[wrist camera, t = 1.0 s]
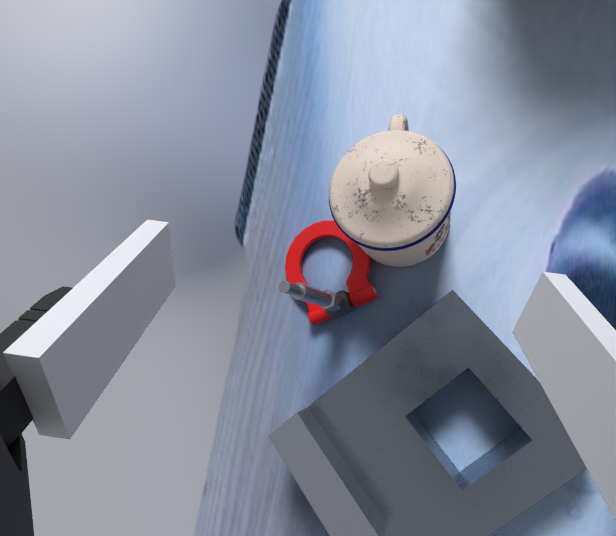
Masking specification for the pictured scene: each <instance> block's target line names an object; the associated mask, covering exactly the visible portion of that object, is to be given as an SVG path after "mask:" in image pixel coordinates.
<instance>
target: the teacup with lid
mask: <svg viewBox="0 0 616 536" xmlns="http://www.w3.org/2000/svg"><path fill="white" fill-rule="evenodd" d="M455 192H456V180H455V174H454V170H453V167H452V164H451V162H450V160H449V158H448V157H447V155H446V154H445V153H444V151H443V150H442V149H441V148H440V147H439V146H438V145H436V144H435V143H434V142H433V141H431V140H430V139H428V138H427V137H424V136H422V135H420V134H417V133H414V132H410V131H409V130H408V121H407V118H406V116H405V115H403V114H398V115H394V116H393V117H392V118H391V120H390V123H389V131H385V132H380V133H377V134H374V135H371V136H369V137H367V138H365V139H363V140H361V141H360V142H358V143H357V144H355V145H354V146H353V147H352V148H351V149H349V150H348V151H347V153H346V154H345V155H344V156H343V157H342V158H341V160H340V161H339V163H338V165H337V166H336V168H335V170H334V173H333V175H332V178H331V182H330V188H329V205H330V210H331V213H332V216H333V218H334V220H335V222H336V224H337V226H338V227H339V229H340V230H341V231H342V232H343V233H344V234H345V235H346V236H347V237H348V238H349V239H350V240H352V241H353V242H355V243H357V244H358V245H359V246H360V247H361V248H362V250H363V251H364V252H365V253H366V254H368V255H369V256H370V257H371V258H372V259H374V260H375V261H377V262H379V263H381V264H384V265H387V266H392V267H407V266H412V265H415V264H418V263H421V262H423V261H425V260H426V259H428V258H429V257H431V256H432V255H433V254H434V253H435V252H436V251H437V250H438V249H439V248H440V247H441V245H442V244H443V242H444V240H445V239H446V236H447V234H448V231H449V226H450V214H451V208H452V205H453V202H454V198H455Z"/></svg>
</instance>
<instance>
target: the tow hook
mask: <svg viewBox="0 0 616 536" xmlns="http://www.w3.org/2000/svg"><path fill="white" fill-rule="evenodd" d="M325 237H335V238H339V239H341V240H343V241H344V242H345V243H346V244H347V245H348V246H349V248H350V250H351V252H352V256H353V268H352V271H351V274H350V276H349V277H348V279H347V281H346V284H347V287H348V289H349V292H350V293H348V292H346V291H344V290H342V291H340V292H337V293H335V292H332V291H330V290H325V291H322V290H319V289H317V288H314V287H311V286H309V285H308V283H307V282H306V281H305V279H304V276H303V274H302V259H303V257H304V254H305V252H306V250H307V249H308V247H309V246H310V245H312V244H313V243H314V242H315V241H317V240H319V239H321V238H325ZM370 262H371V259H370V256H369V255H368V254H366V253H365V252H364V251H363V250H362V248H361V247H360V246H359V245H358V244H357V243H355V242H353V241H352V240H350V239H349V238H348V237H347V236H346V235H345V234H344V233H343V232H342V231H341V230H340V229H339V227H338V226H337V224H336V222H335V221H321V222H318V223H314V224H312V225H311V226H309V227H307V228H305V229H304V230H303V231H302V232H301V233H300V234H299V235H298V236H297V237H296V238H295V240H294V241H293V243H292V244H291V246H290V248H289V251H288V254H287V257H286V265H285V269H286V277H287V280H288V281H282V282H281V283H280V285H279V289H280V291H281V292H283V293H287V294H290V295H291V296H292V297H293V298H294V299H297V300H301V301H304V302H305V303H307V306H308V309H309V312H308V317H309V319H310V322H311V323H312V324H313V325H316V324H318V323H321V322H323V321H325V320H328V319H330V318H332V317H337V316H340V315H342V314H344V313H347V312H349V311H351V310H354V309H355V308H356V307H358V306H360V305H362V304H365V303H367V302H369V301H372V300H374V299H376V298H378V294H377V291H376V289H375V287H374V286H373V285H372V284H370V282H369V279H368V275H369V272H370Z"/></svg>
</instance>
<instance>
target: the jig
mask: <svg viewBox="0 0 616 536" xmlns="http://www.w3.org/2000/svg"><path fill="white" fill-rule="evenodd" d="M467 368H469V369H470V370H471V371H472V372H473V373H474V374H475V375H476V377H477V378H478V379H479V380H480V381H481V382H482V383H483V385H484V386H485V387H486V388H487V389H488V390H489V391H490V393H491V394H492V395H493V396H494V397H495V398H496V399H497V400H498V402H499V403H500V404H501V405H502V406H503V407H504V408H505V410H506V411H507V412H508V413H509V414H510V415H511V416H512V418H513V419H514V420H515V421H516V422H517V423H518V424H519V425H520V427H521V428H520V429H519V430H517V431H516V432H515V433H513V434H512V435H511V436H509V437H508V438H506V439H505V440H504V441H502V442H501V443H499V444H498V445H497V446H495V447H494V448H493V449H491V450H490V451H488V452H487V453H486V454H484V455H483V456H481V457H480V458H479V459H477V460H476V461H475V462H473V463H472V464H470V465H469V466H468V467H466V468H465V469H464V470H462V471H461V472H459V471H458V469H457V468H456V467H455V465H454V464H453V463H452V462H451V460H450V459H449V458H448V456H447V455H446V454H445V453H444V451H443V450H442V449H441V447H440V446H439V445H438V444H437V442H436V441H435V440H434V439H433V437H432V436H431V435H430V433H429V432H428V431H427V430H426V428H425V427H424V426H423V424H422V423H421V422H420V421H419V419H418V418H417V417H416V416H415V414H414V413H413V412H412V411H413V410H414V409H415V408H417V407H418V406H419V405H421V404H422V403H423V402H425V401H426V400H427V399H428V398H430V397H431V396H432V395H434V394H435V393H436V392H438V391H439V390H440V389H441V388H443V387H444V386H445V385H447V384H448V383H449V382H451V381H452V380H453V379H454V378H456V377H457V376H458V375H460V374H461V373H462V372H464V371H465V370H466V369H467ZM269 438H270V440H271V441H272V443H273V445H274V446H275V448H276V449H277V451H278V453H279V454H280V456H281V458H282V459H283V461H284V462H285V464H286V466H287V467H288V469H289V470H290V472H291V474H292V475H293V477H294V479H295V480H296V482H297V483H298V485H299V487H300V488H301V490H302V492H303V493H304V495H305V496H306V498H307V500H308V501H309V503H310V504H311V506H312V508H313V509H314V511H315V513H316V514H317V516H318V517H319V519H320V521H321V522H322V524H323V526H324V527H325V529H326V530H327V532H328V534H329V535H330V536H489V535H491V534H492V533H494V532H495V531H497V530H498V529H500V528H501V527H503V526H504V525H505V524H507V523H508V522H510V521H511V520H513V519H514V518H516V517H517V516H519V515H520V514H522V513H523V512H524V511H526V510H527V509H529V508H530V507H532V506H533V505H535V504H536V503H538V502H539V501H541V500H542V499H543V498H545V497H546V496H548V495H549V494H551V493H552V492H554V491H555V490H557V489H558V488H559V487H561V486H562V485H564V484H565V483H567V482H568V481H570V480H571V479H573V478H574V477H576V476H577V475H578V474H580V473H581V472H583V471H584V470H586V469H587V468H586V466H585V464H584V462H583V460H582V459H581V457H580V455H579V453H578V451H577V449H576V448H575V446H574V444H573V442H572V440H571V438H570V437H569V435H568V433H567V431H566V429H565V427H564V426H563V424H562V422H561V420H560V418H559V416H558V415H557V413H556V411H555V409H554V407H553V406H552V404H551V402H550V400H549V398H548V396H547V395H546V393H545V391H544V389H543V387H542V385H541V384H540V382H539V381H538V380H537V379H536V378H535V377H534V376H533V375H532V373H531V372H530V371H529V370H528V369H527V368H526V367H525V366H524V365H523V364H522V363H521V362H520V361H519V360H518V359H517V358H516V357H515V355H514V354H513V353H512V352H511V351H510V350H509V349H508V348H507V347H506V346H505V345H504V344H503V343H502V342H501V341H500V340H499V338H498V337H497V336H496V335H495V334H494V333H493V332H492V331H491V330H490V329H489V328H488V327H487V326H486V325H485V324H484V323H483V321H482V320H481V319H480V318H479V317H478V316H477V315H476V314H475V313H474V312H473V311H472V310H471V309H470V308H469V307H468V306H467V305H466V303H465V302H464V301H463V300H462V299H461V298H460V297H459V296H458V295H457V294H456V293H455V292H454V291H453V290H452V291H451V292H449V293H448V294H447V295H446V296H444V297H443V298H442V299H441V300H439V301H438V302H437V303H436V304H435V305H433V306H432V307H431V308H430V309H428V310H427V311H426V312H425V313H423V314H422V315H421V316H420V317H418V318H417V319H416V320H415V321H414V322H412V323H411V324H410V325H409V326H407V327H406V328H405V329H404V330H402V331H401V332H400V333H399V334H398V335H396V336H395V337H394V338H393V339H391V340H390V341H389V342H388V343H386V344H385V345H384V346H383V347H381V348H380V349H379V350H378V351H377V352H375V353H374V354H373V355H372V356H370V357H369V358H368V359H367V360H365V361H364V362H363V363H362V364H361V365H359V366H358V367H357V368H356V369H354V370H353V371H352V372H351V373H349V374H348V375H347V376H346V377H344V378H343V379H342V380H341V381H340V382H338V383H337V384H336V385H335V386H333V387H332V388H331V389H330V390H328V391H327V392H326V393H325V394H324V395H322V396H321V397H320V398H319V399H317V400H316V401H315V402H314V403H312V404H311V405H310V406H309V407H307V408H305V409H303V410H301V411H300V412H298V413H296V414H295V415H294V416H292V417H291V418H290V419H289V420H287V421H286V422H285V423H284V424H283V425H281V426H280V427H279V428H278V429H276V430H275V431H274V432H273V433H271V434H270V435H269Z"/></svg>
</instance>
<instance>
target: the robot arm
mask: <svg viewBox="0 0 616 536" xmlns="http://www.w3.org/2000/svg"><path fill="white" fill-rule="evenodd" d="M174 288H175V278H174V269H173V259H172V250H171V239H170V230H169V223H168V222H161V221H154V220H147V221H146V222H145V223H143V224H142V225H141V226H140V227H139V228H138V229H137V230H136V231H135V232H134V233H132V234H131V235H130V236H129V237H128V238H127V239H126V240H125V241H124V242H123V243H122V244H121V245H119V246H118V247H117V248H116V249H115V250H114V251H113V252H112V253H111V254H110V255H109V256H108V257H106V258H105V259H104V260H103V261H102V262H101V263H100V264H99V265H98V266H97V267H95V268H94V269H93V270H92V271H91V272H90V273H89V274H88V275H87V276H86V277H85V278H84V279H82V280H81V281H80V283H78V284H77V285H76V286H75V287H74V288H70V287H61V288H59V289H57V290H55V291H53V292H51V293H49V294H47V295H45V296H44V297H42V298H41V299H40V300H39V301H38V302H37V303H35V304H34V305H33V306H32V307H31V308H30V311H29V310H27V311H26V312H25V313H24V314H23V315H21V316H20V317H19V320H18V321H14V322H13V323H12V324H11V325H10V326H9V327H8V328H6V329H5V330H4V331H3V332H2V333H0V536H34V531H33V519H32V509H31V499H30V489H29V478H28V468H27V459H26V448H25V441H24V438H23V436H22V434H21V433H22V432H23V431H24V429H25V428H26V427H27V426H28V425H29V423H30V422H31V421H32V420H33V422H34V424H35V426H36V428H37V431H38V433H39V435H44V436H51V437H59V438H65V439H70V438H71V437H72V435H73V434H74V433H75V431H76V430H77V428H78V427H79V425H80V424H81V422H82V421H83V419H84V418H85V417H86V415H87V414H88V412H89V411H90V409H91V408H92V406H93V405H94V404H95V402H96V401H97V399H98V398H99V396H100V395H101V393H102V392H103V391H104V389H105V388H106V386H107V385H108V383H109V382H110V380H111V379H112V378H113V376H114V374H115V373H116V372H117V370H118V369H119V367H120V366H121V364H122V363H123V362H124V360H125V359H126V357H127V356H128V354H129V353H130V351H131V350H132V349H133V347H134V346H135V344H136V343H137V341H138V340H139V338H140V337H141V335H142V334H143V333H144V331H145V329H146V328H147V327H148V325H149V324H150V322H151V321H152V319H153V318H154V317H155V315H156V314H157V312H158V311H159V309H160V308H161V306H162V305H163V304H164V302H165V301H166V299H167V298H168V296H169V295H170V293H171V292H172V290H173V289H174ZM513 334H514V336H515V338H516V340H517V342H518V343H519V345H520V347H521V349H522V351H523V353H524V354H525V356H526V358H527V360H528V362H529V364H530V365H531V367H532V369H533V371H534V373H535V374H536V376H537V378H538V380H539V382H540V384H541V385H542V387H543V389H544V391H545V393H546V395H547V396H548V398H549V400H550V402H551V404H552V406H553V407H554V409H555V411H556V413H557V415H558V416H559V418H560V420H561V422H562V424H563V426H564V427H565V429H566V431H567V433H568V435H569V437H570V438H571V440H572V442H573V444H574V446H575V448H576V449H577V451H578V453H579V455H580V457H581V459H582V460H583V462H584V464H585V466H586V468H587V469H588V471H589V473H590V475H591V477H592V479H593V480H594V482H595V484H596V486H597V488H598V490H599V491H600V493H601V495H602V497H603V499H604V501H605V502H606V504H607V506H608V508H609V510H610V511H611V513H612V515H613V517H614V519H615V520H616V330H615V329H614V328H613V327H612V326H611V325H610V324H609V323H608V322H607V320H606V319H605V318H604V317H603V316H602V315H601V314H600V313H599V312H598V310H597V309H596V308H595V307H594V306H593V305H592V304H591V303H590V302H589V300H588V299H587V298H586V297H585V296H584V295H583V294H582V293H581V292H580V290H579V289H578V288H577V287H576V286H575V285H574V284H573V283H572V282H571V280H570V279H569V278H568V277H567V276H566V275H564V274H556V273H549V272H543V273H542V275H541V277H540V278H539V280H538V282H537V284H536V286H535V288H534V290H533V292H532V294H531V296H530V298H529V300H528V302H527V304H526V306H525V308H524V310H523V312H522V314H521V316H520V318H519V320H518V322H517V324H516V326H515V328H514V330H513Z"/></svg>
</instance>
